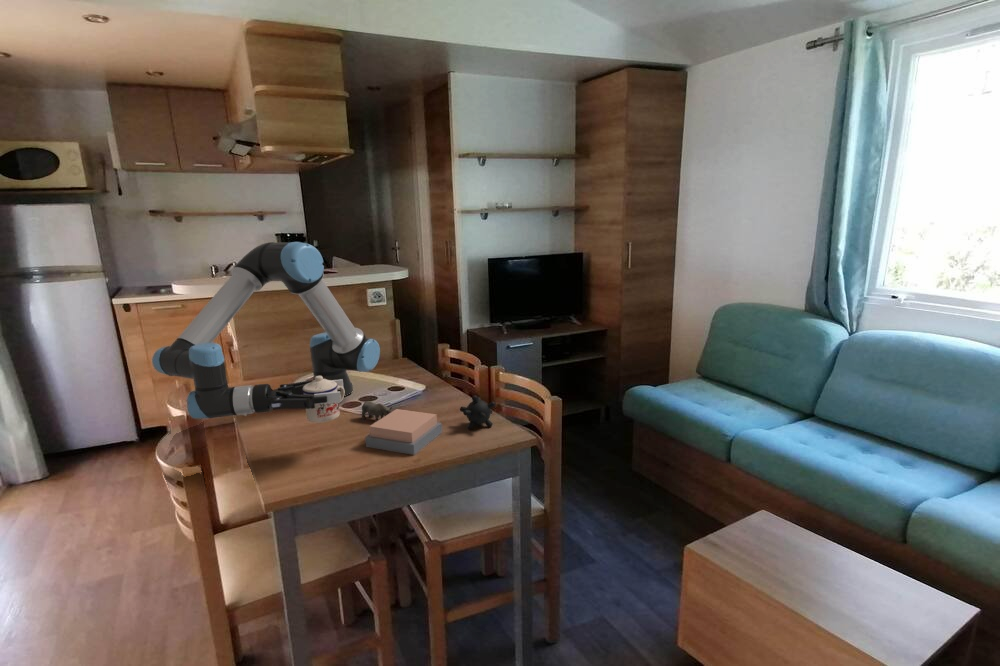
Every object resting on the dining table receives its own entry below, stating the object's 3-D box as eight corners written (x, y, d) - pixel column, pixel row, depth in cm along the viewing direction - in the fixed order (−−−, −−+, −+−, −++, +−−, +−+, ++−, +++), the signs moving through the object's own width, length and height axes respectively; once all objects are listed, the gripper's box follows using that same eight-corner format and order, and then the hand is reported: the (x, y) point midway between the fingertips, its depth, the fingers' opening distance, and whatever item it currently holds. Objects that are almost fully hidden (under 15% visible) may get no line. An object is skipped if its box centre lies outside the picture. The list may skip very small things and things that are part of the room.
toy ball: (509, 417, 161) (481, 419, 152) (488, 434, 166) (460, 437, 158) (495, 388, 166) (467, 388, 157) (475, 406, 171) (447, 407, 162)
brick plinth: (397, 425, 165) (395, 407, 163) (442, 432, 159) (441, 413, 157) (365, 446, 150) (364, 427, 149) (414, 455, 144) (412, 434, 143)
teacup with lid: (319, 426, 138) (314, 384, 136) (299, 419, 144) (293, 378, 141) (356, 411, 148) (351, 371, 145) (335, 405, 153) (331, 366, 150)
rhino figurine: (392, 426, 164) (391, 408, 163) (359, 419, 171) (357, 402, 169) (400, 421, 168) (399, 404, 167) (367, 415, 174) (366, 398, 173)
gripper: (265, 398, 151) (345, 389, 156) (246, 428, 130) (340, 418, 135) (261, 373, 149) (342, 365, 154) (242, 400, 128) (337, 390, 133)
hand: (341, 390), depth 144 cm, fingers closed on teacup with lid, 10 cm apart
